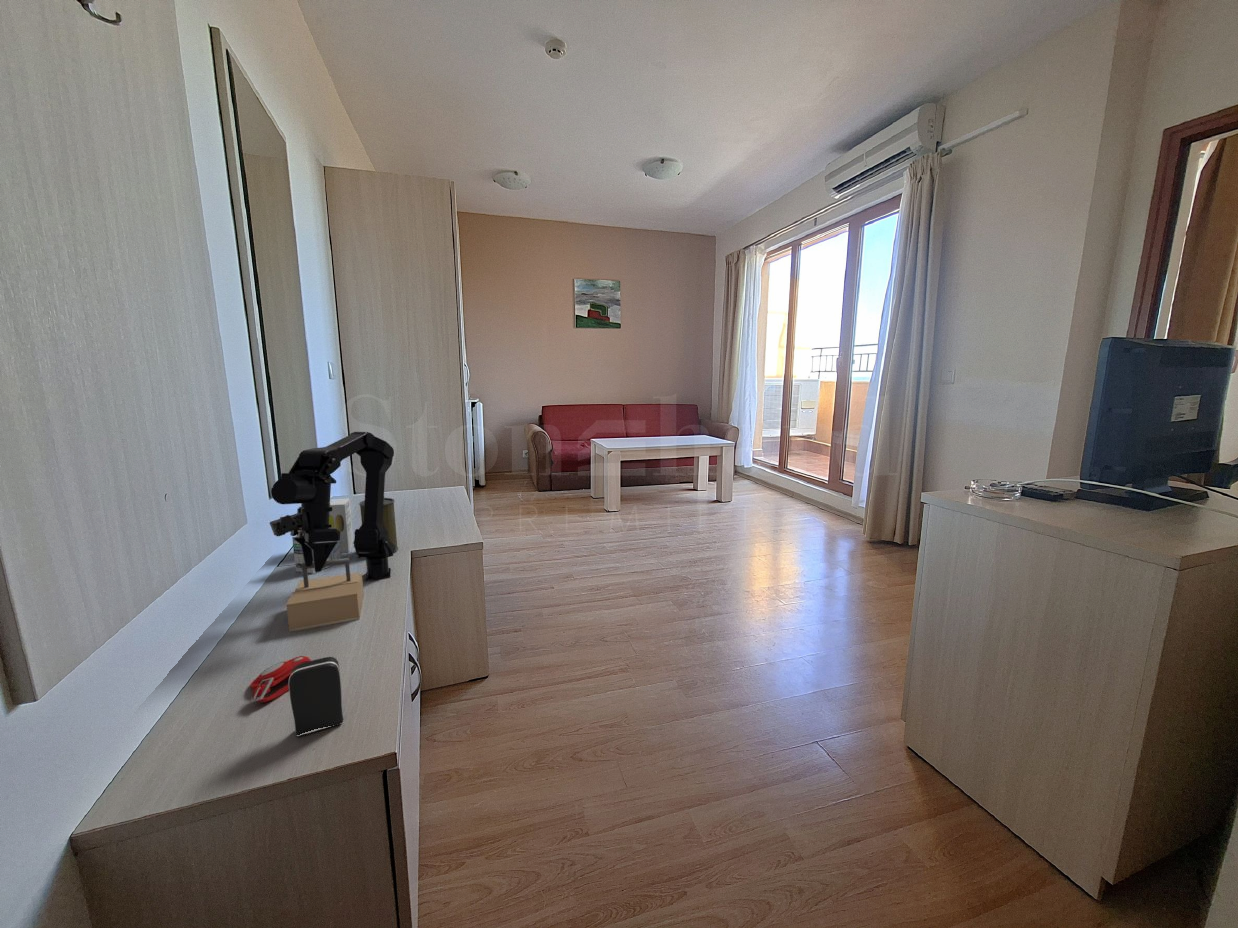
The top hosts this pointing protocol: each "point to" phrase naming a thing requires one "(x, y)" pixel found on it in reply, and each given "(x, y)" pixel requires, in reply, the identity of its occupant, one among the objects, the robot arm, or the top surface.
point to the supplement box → (342, 522)
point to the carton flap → (328, 581)
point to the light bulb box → (300, 560)
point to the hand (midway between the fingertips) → (312, 568)
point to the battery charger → (316, 694)
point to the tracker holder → (274, 679)
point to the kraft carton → (325, 606)
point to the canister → (386, 519)
